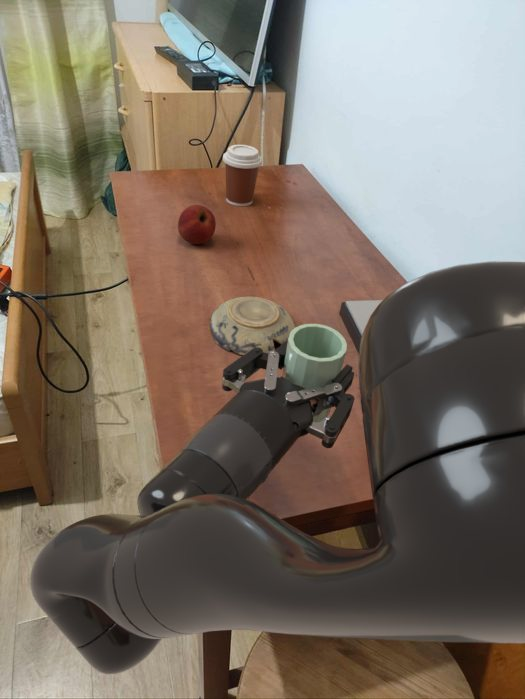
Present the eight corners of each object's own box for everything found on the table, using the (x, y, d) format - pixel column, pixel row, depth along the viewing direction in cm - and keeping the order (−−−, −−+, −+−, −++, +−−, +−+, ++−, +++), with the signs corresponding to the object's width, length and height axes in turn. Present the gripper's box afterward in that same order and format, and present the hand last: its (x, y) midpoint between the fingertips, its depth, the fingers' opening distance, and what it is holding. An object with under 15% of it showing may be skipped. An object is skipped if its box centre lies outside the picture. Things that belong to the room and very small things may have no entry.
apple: (184, 253, 101) (184, 216, 96) (173, 234, 107) (172, 198, 101) (219, 248, 104) (221, 212, 99) (206, 230, 109) (207, 195, 104)
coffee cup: (225, 189, 126) (228, 140, 119) (261, 196, 126) (266, 146, 118) (216, 204, 119) (218, 153, 112) (253, 211, 119) (259, 160, 111)
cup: (322, 385, 64) (337, 322, 58) (336, 423, 59) (354, 359, 53) (273, 388, 63) (283, 324, 56) (283, 427, 58) (296, 362, 52)
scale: (405, 311, 94) (410, 297, 92) (435, 358, 85) (441, 344, 83) (339, 312, 91) (342, 299, 90) (362, 361, 82) (366, 347, 80)
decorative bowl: (241, 292, 93) (188, 329, 83) (243, 274, 91) (188, 311, 81) (311, 326, 88) (263, 371, 78) (315, 309, 86) (266, 353, 75)
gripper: (309, 462, 43) (387, 360, 54) (178, 385, 48) (273, 307, 59) (297, 512, 47) (370, 408, 59) (178, 437, 53) (266, 355, 64)
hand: (321, 358), depth 59 cm, fingers closed on cup, 6 cm apart
